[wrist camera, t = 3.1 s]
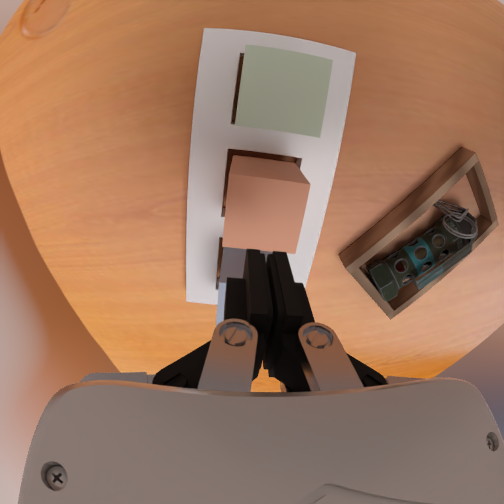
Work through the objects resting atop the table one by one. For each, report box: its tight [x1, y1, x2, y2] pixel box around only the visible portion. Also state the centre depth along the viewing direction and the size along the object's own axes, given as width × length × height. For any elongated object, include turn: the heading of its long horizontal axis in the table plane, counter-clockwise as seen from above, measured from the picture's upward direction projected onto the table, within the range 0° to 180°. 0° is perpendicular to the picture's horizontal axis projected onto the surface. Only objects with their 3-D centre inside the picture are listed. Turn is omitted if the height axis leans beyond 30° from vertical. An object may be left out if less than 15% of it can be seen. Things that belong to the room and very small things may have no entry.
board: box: [186, 28, 356, 305], centre depth 24 cm, size 26×12×2 cm, turn 172°
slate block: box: [216, 247, 272, 326], centre depth 24 cm, size 5×5×6 cm
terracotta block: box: [222, 155, 311, 254], centre depth 20 cm, size 5×5×6 cm
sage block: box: [235, 45, 333, 138], centre depth 16 cm, size 5×5×6 cm
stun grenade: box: [367, 200, 478, 302], centre depth 26 cm, size 6×6×14 cm
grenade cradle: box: [339, 147, 498, 320], centre depth 27 cm, size 19×11×2 cm, turn 134°
